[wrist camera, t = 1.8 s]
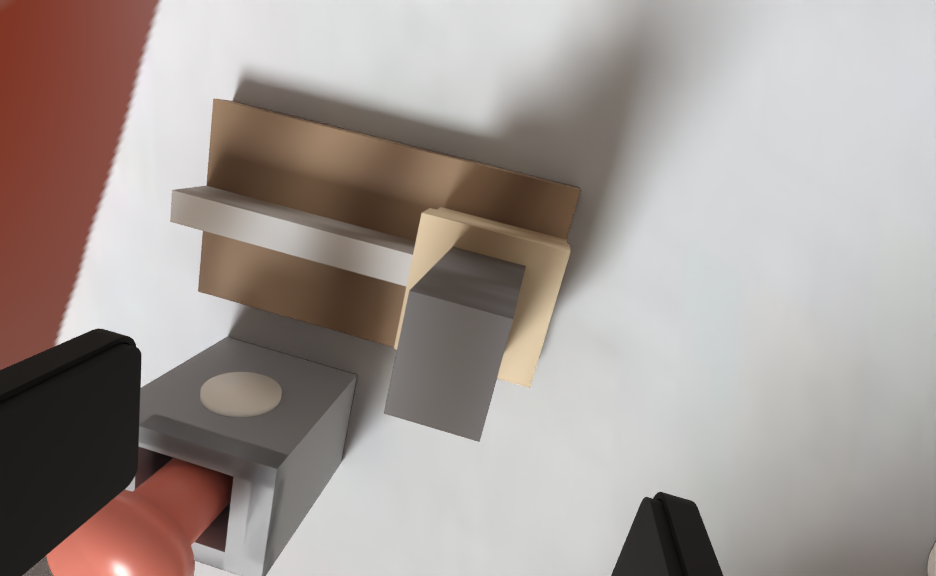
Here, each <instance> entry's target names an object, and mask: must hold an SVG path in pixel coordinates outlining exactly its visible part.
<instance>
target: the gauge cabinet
mask: <svg viewBox="0 0 936 576" xmlns="http://www.w3.org/2000/svg"><path fill="white" fill-rule="evenodd" d="M356 379H357V375H355V374H352V373H349V372H345V371H342V370H338V369H335V368H332V367H328V366H325V365H321V364H318V363H314V362H311V361H308V360H304V359H301V358H297V357H294V356H291V355H287V354H284V353H280V352H277V351H273V350H270V349H267V348H263V347H260V346H256V345H253V344H250V343H246V342H243V341H239V340H236V339H232V338H229V337H226V338H224V339H223V340H221V341H219V342H218V343H216V344H214V345H212V346H211V347H209V348H207V349H206V350H204V351H202V352H201V353H199V354H197V355H196V356H194V357H192V358H191V359H189V360H187V361H186V362H184V363H182V364H181V365H179V366H177V367H175V368H174V369H172V370H170V371H169V372H167V373H165V374H164V375H162V376H160V377H159V378H157V379H155V380H154V381H152V382H150V383H149V384H147V385H145V386H143V387H142V388H140V417H139V449H138V469H137V472H136V475H135V477H134V479H133V481H132V482H131V483H130V485H129V486H128V487H127V488H126V489H125V490H128V491H132V492H133V491H134V490H135V489H136V488H138V487H139V486H140V485H141V484H142V483H144V482H145V481H146V480H147V479H148V478H150V477H151V476H152V475H153V474H154V473H156V472H157V471H158V470H159V469H161V468H162V467H163V466H164V465H165V464H167V463H168V462H169V461H170V460H171V459H173V458H177V459H180V460H183V461H186V462H189V463H192V464H196V465H199V466H202V467H205V468H208V469H211V470H214V471H218V472H221V473H224V474H227V475H230V476H233V486H232V495H231V502H230V503H229V504H228V505H227V506H226V507H225V509H224V510H223V511H222V512H221V513H220V514H219V515H218V516H217V517H216V519H215V520H214V521H213V522H212V523H211V524H210V525H209V526H208V527H207V529H206V530H205V531H204V532H203V533H202V534H201V535H200V536H199V537H198V538H197V540H196V541H195V542H194V543H193V544H192V545H191V547H192V550H193V554H194V561H197V562H200V563H203V564H206V565H209V566H212V567H215V568H218V569H221V570H224V571H227V572H230V573H233V574H236V575H239V576H266V574H267V573H268V571H269V570H270V568H271V567H272V565H273V564H274V562H275V561H276V559H277V558H278V556H279V555H280V553H281V552H282V550H283V549H284V547H285V546H286V544H287V543H288V541H289V540H290V538H291V537H292V535H293V534H294V532H295V531H296V529H297V528H298V526H299V525H300V523H301V522H302V520H303V519H304V518H305V516H306V515H307V513H308V512H309V510H310V509H311V507H312V506H313V504H314V503H315V501H316V500H317V498H318V497H319V495H320V494H321V492H322V491H323V489H324V488H325V486H326V485H327V483H328V482H329V480H330V479H331V477H332V476H333V474H334V473H335V471H336V470H337V468H338V467H339V465H340V464H341V460H342V455H343V449H344V444H345V438H346V433H347V428H348V422H349V417H350V411H351V406H352V401H353V395H354V390H355V384H356Z"/></svg>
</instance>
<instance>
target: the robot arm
mask: <svg viewBox="0 0 936 576" xmlns="http://www.w3.org/2000/svg"><path fill="white" fill-rule="evenodd" d="M140 384H141V352H140V350H139V349H138V348H137V347H136V344H135V342H134V340H133V339H132V338H130V337H128V336H125V335H121V334H118V333H115V332H111V331H108V330H104V329H95V330H92V331H89V332H87V333H85V334H82V335H80V336H78V337H76V338H73V339H71V340H69V341H66V342H64V343H62V344H60V345H57V346H55V347H53V348H50V349H48V350H46V351H44V352H41V353H39V354H37V355H34V356H32V357H30V358H27V359H25V360H23V361H21V362H18V363H16V364H14V365H11V366H9V367H7V368H5V369H2V370H0V576H22V575H23V574H24V573H26V572H27V571H28V570H29V569H30V568H32V567H33V566H34V565H35V564H36V563H38V562H39V561H40V560H41V559H42V558H44V557H45V556H46V555H47V554H48V553H50V552H51V551H52V550H53V549H54V548H55V547H57V546H58V545H59V544H60V543H61V542H63V541H64V540H65V539H66V538H67V537H69V536H70V535H71V534H72V533H73V532H75V531H76V530H77V529H78V528H79V527H80V526H82V525H83V524H84V523H85V522H86V521H88V520H89V519H90V518H91V517H92V516H94V515H95V514H96V513H97V512H98V511H100V510H101V509H102V508H103V507H104V506H105V505H107V504H108V503H109V502H110V501H111V500H113V499H114V498H115V497H116V496H117V495H119V494H120V493H121V492H122V491H123V490H125V489H126V488H127V487H128V486H129V485H130V483H131V482H132V481H133V479H134V477H135V475H136V472H137V469H138V449H139V417H140ZM611 576H723V574H722V571H721V568H720V566H719V563H718V560H717V558H716V555H715V553H714V550H713V547H712V545H711V542H710V539H709V537H708V534H707V531H706V529H705V526H704V524H703V521H702V518H701V516H700V513H699V510H698V508H697V506H696V504H695V503H694V502H693V501H690V500H687V499H683V498H680V497H676V496H673V495H670V494H666V493H663V492H658V493H657V494H656V495H655V496H654V498H653V499H652V498H649V497H645V498H644V499H643V500H642V502H641V504H640V507H639V509H638V512H637V514H636V517H635V519H634V521H633V524H632V526H631V529H630V531H629V534H628V536H627V538H626V541H625V543H624V546H623V548H622V551H621V553H620V556H619V558H618V560H617V563H616V565H615V568H614V570H613V573H612V575H611Z"/></svg>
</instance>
